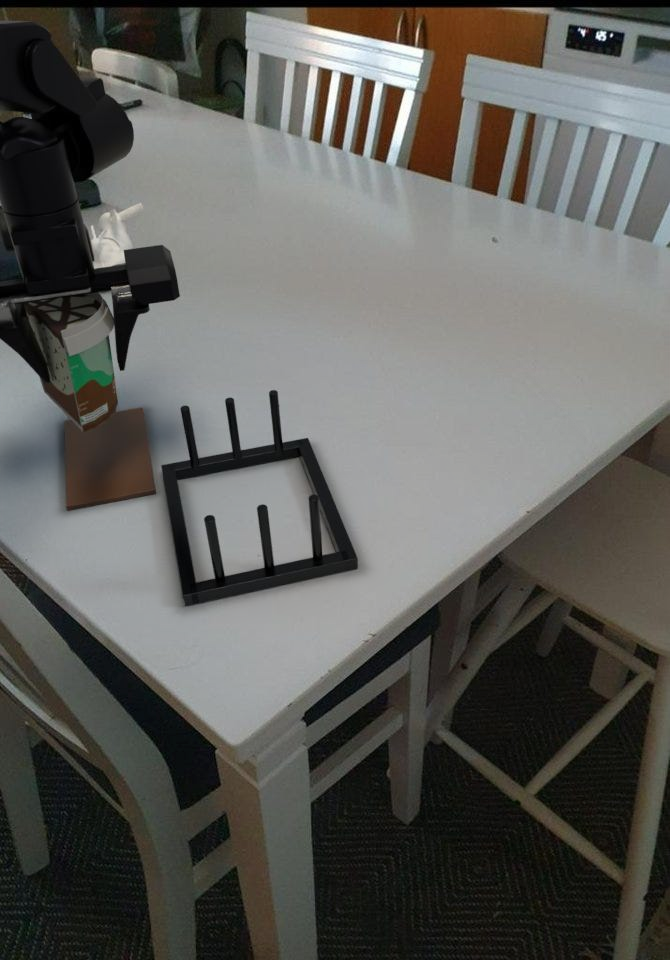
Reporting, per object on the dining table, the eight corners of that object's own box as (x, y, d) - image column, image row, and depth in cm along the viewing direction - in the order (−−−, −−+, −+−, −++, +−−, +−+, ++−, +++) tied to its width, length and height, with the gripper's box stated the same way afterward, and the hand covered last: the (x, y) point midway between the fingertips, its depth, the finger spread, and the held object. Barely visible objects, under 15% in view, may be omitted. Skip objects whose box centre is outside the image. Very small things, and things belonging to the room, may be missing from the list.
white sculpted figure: (116, 255, 116) (101, 187, 110) (165, 258, 114) (153, 190, 108) (77, 293, 107) (59, 222, 101) (130, 297, 105) (115, 225, 99)
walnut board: (67, 510, 73) (65, 506, 73) (65, 424, 84) (64, 420, 83) (156, 493, 75) (155, 489, 74) (143, 410, 85) (142, 407, 85)
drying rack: (185, 606, 64) (169, 535, 59) (163, 474, 77) (148, 407, 72) (358, 568, 66) (356, 497, 61) (308, 447, 79) (304, 380, 74)
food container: (154, 415, 73) (134, 311, 67) (90, 439, 70) (63, 333, 64) (98, 366, 81) (75, 270, 75) (38, 386, 78) (10, 287, 72)
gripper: (151, 157, 71) (179, 318, 81) (-74, 183, 67) (-17, 347, 77) (164, 201, 62) (193, 374, 72) (-93, 233, 59) (-26, 410, 69)
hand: (85, 374), depth 73 cm, fingers closed on food container, 6 cm apart
